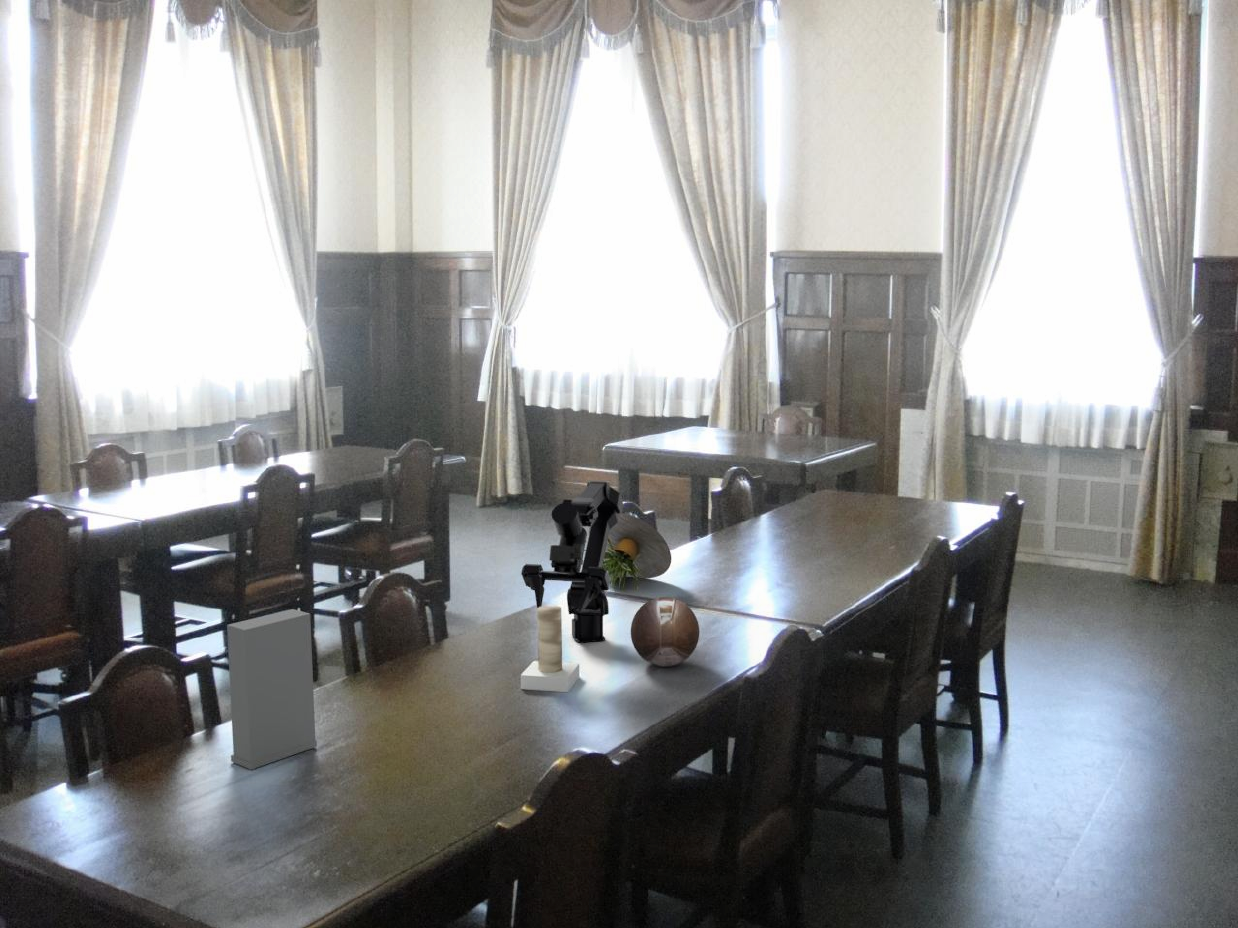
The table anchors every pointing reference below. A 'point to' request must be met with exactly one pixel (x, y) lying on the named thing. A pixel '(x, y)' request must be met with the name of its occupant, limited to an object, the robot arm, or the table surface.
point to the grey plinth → (550, 678)
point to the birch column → (549, 639)
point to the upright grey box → (271, 687)
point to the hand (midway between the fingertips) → (559, 610)
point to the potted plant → (635, 550)
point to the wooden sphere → (665, 631)
